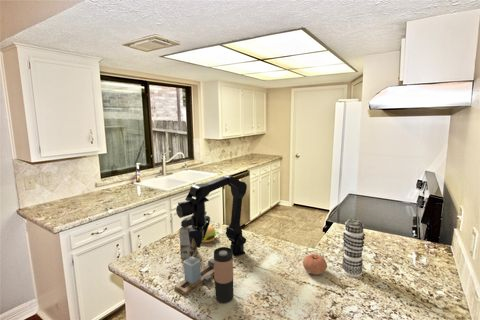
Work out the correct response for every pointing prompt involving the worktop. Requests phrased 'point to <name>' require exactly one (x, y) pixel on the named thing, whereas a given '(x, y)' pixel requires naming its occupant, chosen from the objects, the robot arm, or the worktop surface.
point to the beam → (204, 279)
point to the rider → (192, 270)
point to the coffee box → (187, 243)
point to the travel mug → (223, 274)
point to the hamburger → (209, 234)
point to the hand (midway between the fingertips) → (201, 242)
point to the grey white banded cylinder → (353, 247)
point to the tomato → (315, 264)
